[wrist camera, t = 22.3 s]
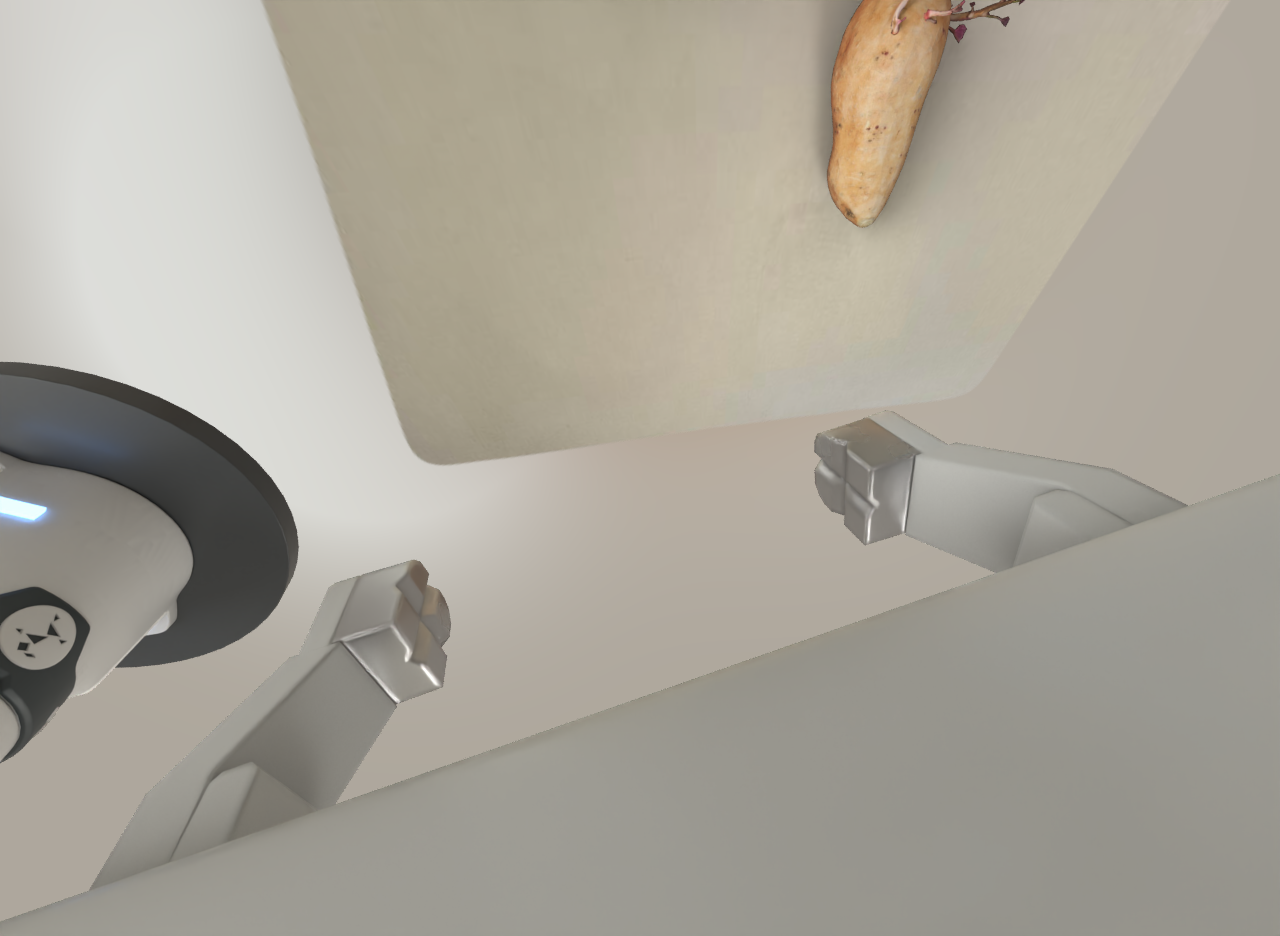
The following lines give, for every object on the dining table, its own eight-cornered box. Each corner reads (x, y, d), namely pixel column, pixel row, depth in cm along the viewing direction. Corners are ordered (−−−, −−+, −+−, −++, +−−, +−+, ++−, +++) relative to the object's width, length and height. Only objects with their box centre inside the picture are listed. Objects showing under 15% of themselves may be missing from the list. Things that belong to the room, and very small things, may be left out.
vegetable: (954, 226, 38) (1001, 229, 29) (808, 226, 40) (812, 229, 32) (1029, -53, 31) (1121, -157, 22) (844, -31, 33) (863, -117, 25)
